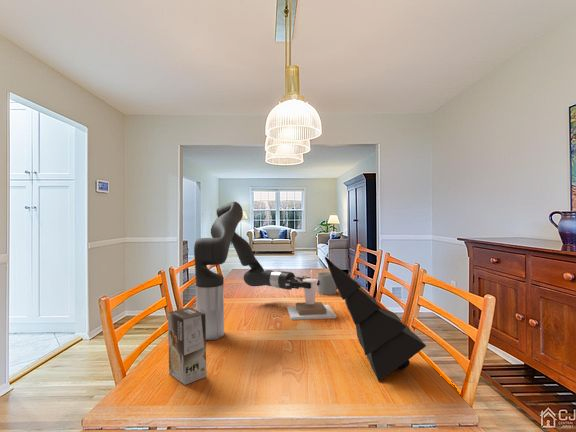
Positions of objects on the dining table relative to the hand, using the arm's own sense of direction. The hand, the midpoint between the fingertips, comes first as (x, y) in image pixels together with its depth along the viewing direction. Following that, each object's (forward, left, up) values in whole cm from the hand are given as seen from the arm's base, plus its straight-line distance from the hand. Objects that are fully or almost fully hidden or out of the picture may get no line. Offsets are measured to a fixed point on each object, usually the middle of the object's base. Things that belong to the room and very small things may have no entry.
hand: (315, 284), depth 136 cm
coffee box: (-47, +42, -12) cm, 64 cm away
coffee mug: (+36, -14, -12) cm, 40 cm away
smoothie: (+2, +2, -8) cm, 9 cm away
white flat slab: (+2, +2, -12) cm, 12 cm away
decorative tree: (-49, -6, -12) cm, 51 cm away
